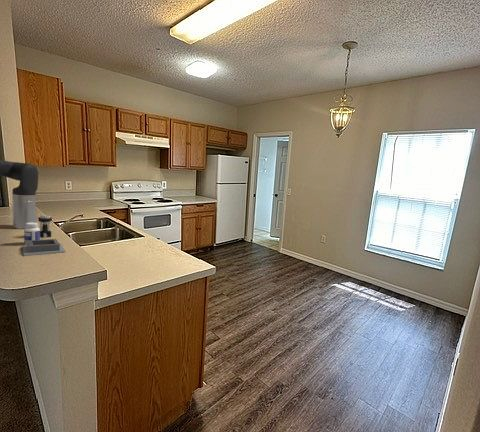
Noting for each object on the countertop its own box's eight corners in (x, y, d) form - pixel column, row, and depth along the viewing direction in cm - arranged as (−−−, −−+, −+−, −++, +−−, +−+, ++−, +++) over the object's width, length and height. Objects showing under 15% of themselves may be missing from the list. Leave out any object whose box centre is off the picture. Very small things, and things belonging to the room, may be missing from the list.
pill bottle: (38, 241, 115) (38, 221, 114) (41, 244, 112) (41, 224, 111) (22, 242, 111) (22, 222, 110) (26, 245, 108) (25, 224, 107)
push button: (34, 238, 119) (34, 216, 117) (34, 235, 123) (34, 214, 121) (52, 237, 123) (52, 216, 122) (51, 235, 127) (51, 214, 126)
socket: (22, 246, 106) (21, 239, 105) (60, 244, 114) (60, 237, 114) (23, 255, 96) (23, 248, 96) (65, 252, 105) (65, 245, 105)
